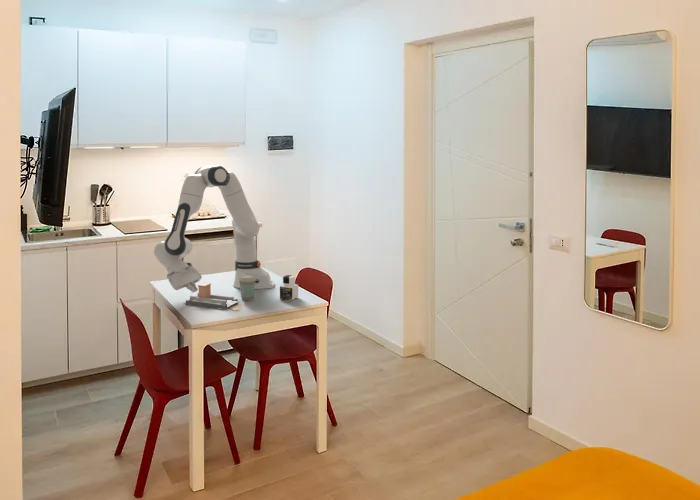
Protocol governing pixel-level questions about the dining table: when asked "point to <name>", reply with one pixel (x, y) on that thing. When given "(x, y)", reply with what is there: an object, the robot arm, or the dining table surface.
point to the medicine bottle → (288, 288)
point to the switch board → (210, 301)
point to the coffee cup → (247, 286)
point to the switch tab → (205, 290)
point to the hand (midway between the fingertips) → (195, 291)
